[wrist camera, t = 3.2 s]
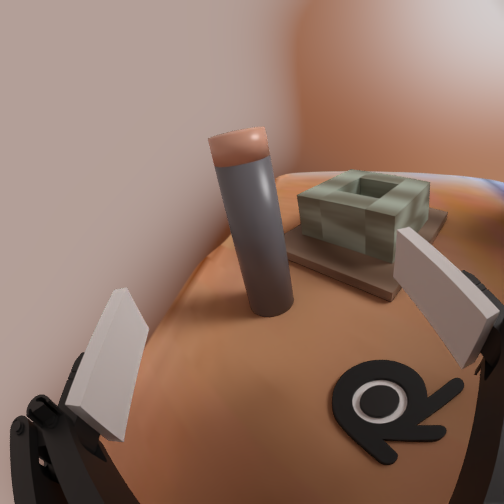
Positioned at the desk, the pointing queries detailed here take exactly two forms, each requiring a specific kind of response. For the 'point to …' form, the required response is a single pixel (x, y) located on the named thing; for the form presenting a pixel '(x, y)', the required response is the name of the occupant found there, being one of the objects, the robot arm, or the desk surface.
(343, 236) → the socket
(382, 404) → the blender logo cutout
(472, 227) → the desk surface
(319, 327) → the desk surface
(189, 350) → the desk surface
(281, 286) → the peg
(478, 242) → the desk surface
